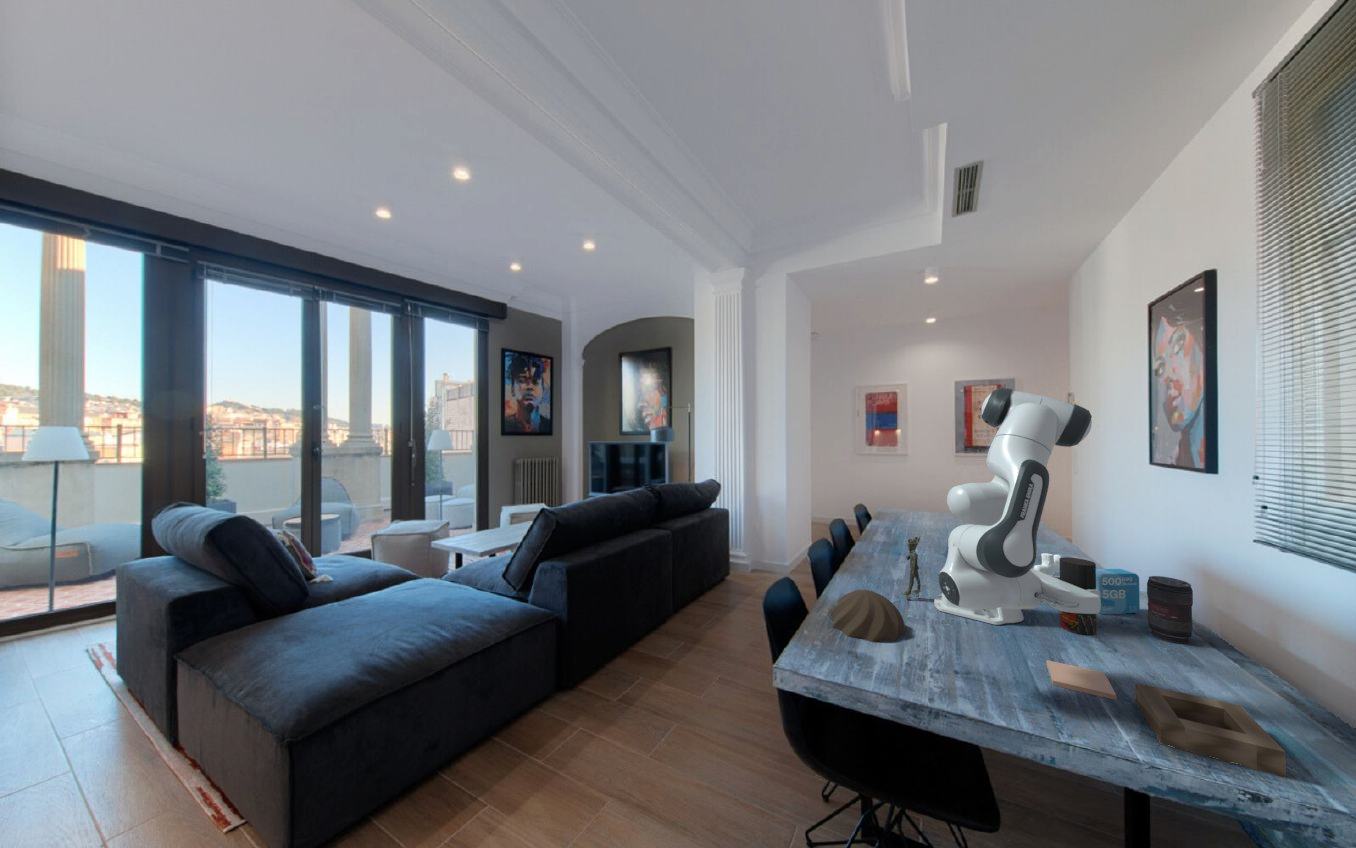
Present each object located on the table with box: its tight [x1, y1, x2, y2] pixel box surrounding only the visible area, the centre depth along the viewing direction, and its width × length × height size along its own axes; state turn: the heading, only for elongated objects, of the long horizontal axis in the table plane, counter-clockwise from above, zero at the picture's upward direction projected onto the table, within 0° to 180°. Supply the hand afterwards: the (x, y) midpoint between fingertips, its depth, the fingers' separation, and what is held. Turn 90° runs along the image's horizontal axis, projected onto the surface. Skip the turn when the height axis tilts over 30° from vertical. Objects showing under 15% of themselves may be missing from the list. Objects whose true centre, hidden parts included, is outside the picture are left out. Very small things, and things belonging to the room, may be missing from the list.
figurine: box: [1032, 552, 1063, 576], centre depth 142 cm, size 7×9×15 cm
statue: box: [901, 536, 921, 601], centre depth 146 cm, size 5×6×20 cm
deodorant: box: [1059, 556, 1097, 637], centre depth 98 cm, size 6×6×15 cm
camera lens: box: [1146, 575, 1194, 644], centre depth 117 cm, size 8×8×15 cm
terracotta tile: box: [1045, 659, 1118, 701], centre depth 98 cm, size 10×10×1 cm
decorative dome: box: [829, 589, 906, 643], centre depth 127 cm, size 19×20×10 cm
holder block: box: [1134, 682, 1287, 778], centre depth 81 cm, size 14×14×4 cm
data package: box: [1096, 568, 1141, 615], centre depth 134 cm, size 12×4×12 cm, turn 90°
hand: (1081, 587), depth 98 cm, fingers closed on deodorant, 6 cm apart
